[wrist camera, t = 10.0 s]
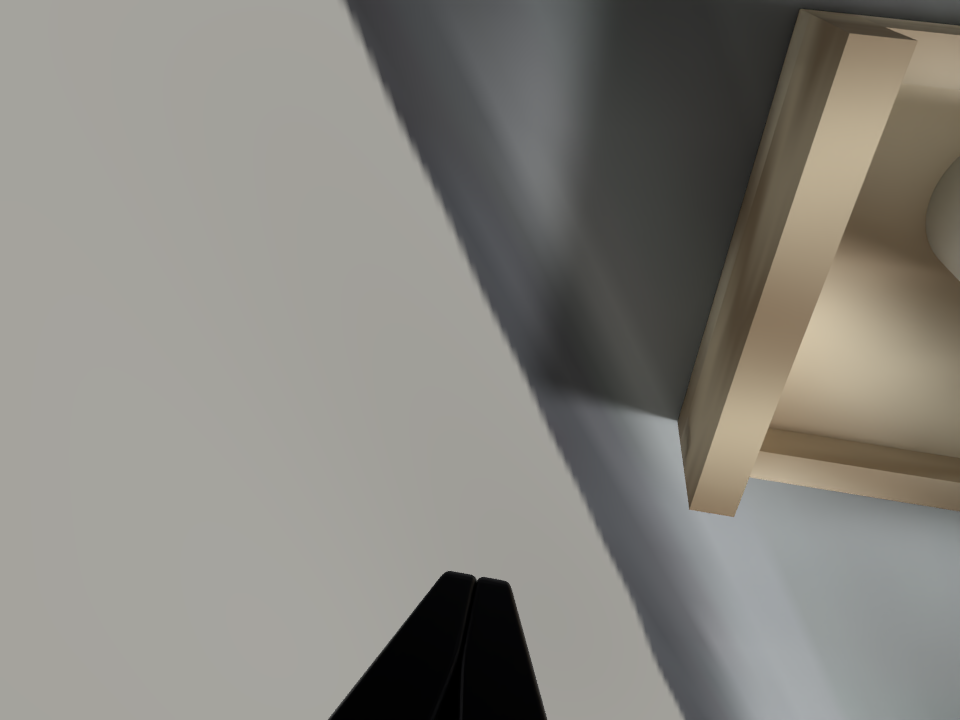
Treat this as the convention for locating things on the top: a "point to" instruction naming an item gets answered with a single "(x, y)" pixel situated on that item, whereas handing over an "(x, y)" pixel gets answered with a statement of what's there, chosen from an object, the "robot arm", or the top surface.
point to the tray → (838, 281)
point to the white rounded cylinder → (946, 219)
